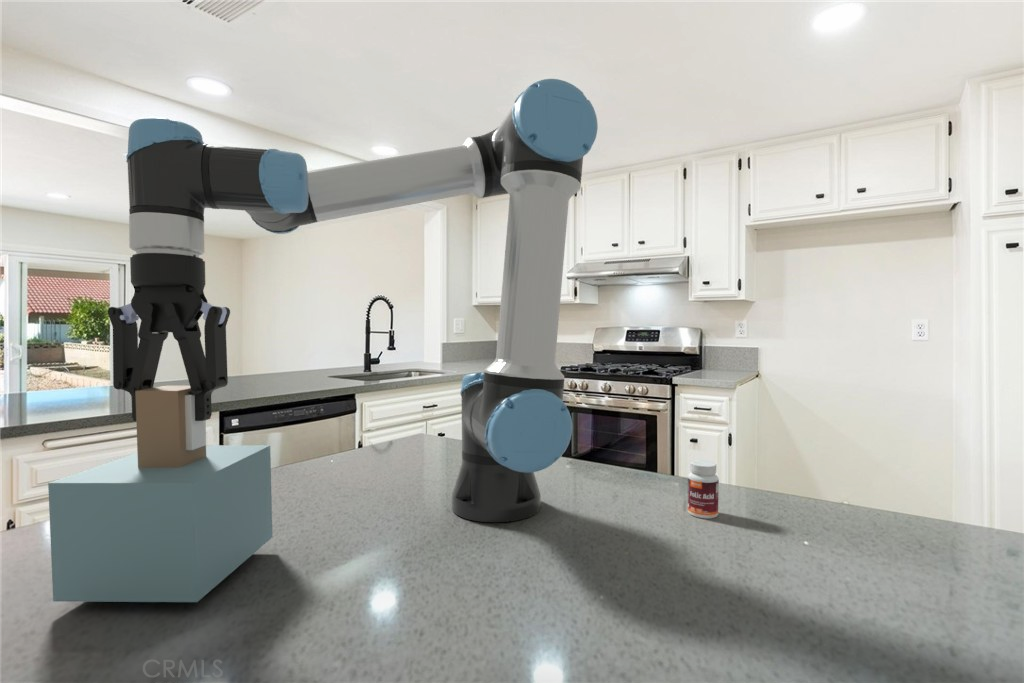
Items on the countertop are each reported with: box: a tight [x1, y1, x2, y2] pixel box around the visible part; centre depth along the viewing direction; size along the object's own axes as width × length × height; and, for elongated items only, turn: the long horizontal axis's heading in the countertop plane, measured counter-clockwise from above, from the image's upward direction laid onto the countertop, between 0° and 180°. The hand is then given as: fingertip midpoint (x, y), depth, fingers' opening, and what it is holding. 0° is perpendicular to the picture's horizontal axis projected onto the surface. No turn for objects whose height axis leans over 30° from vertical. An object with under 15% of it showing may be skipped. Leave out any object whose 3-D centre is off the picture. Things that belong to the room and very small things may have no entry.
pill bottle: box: [687, 459, 720, 520], centre depth 85 cm, size 5×5×8 cm
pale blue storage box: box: [47, 385, 274, 603], centre depth 63 cm, size 16×17×22 cm
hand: (172, 447), depth 63 cm, fingers closed on pale blue storage box, 5 cm apart
